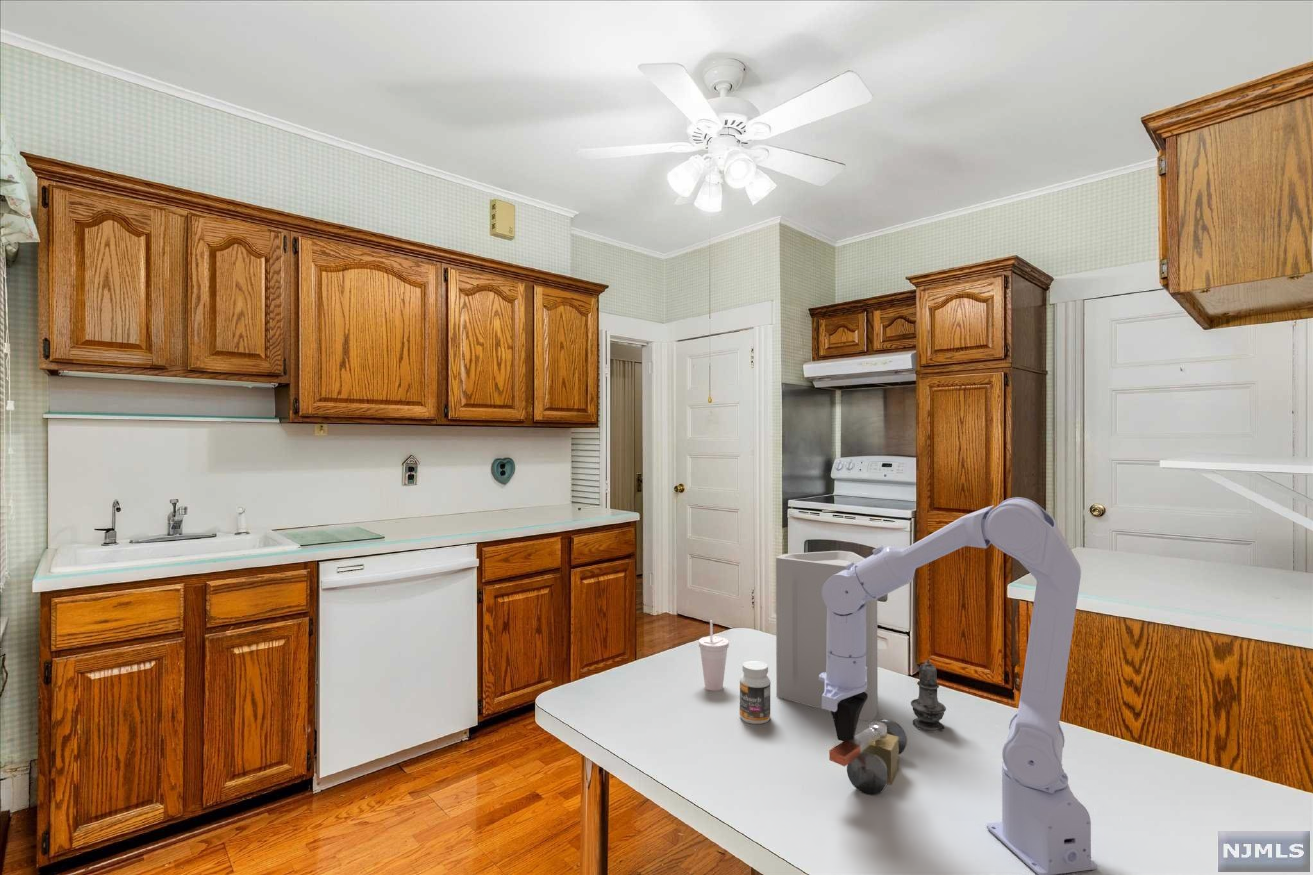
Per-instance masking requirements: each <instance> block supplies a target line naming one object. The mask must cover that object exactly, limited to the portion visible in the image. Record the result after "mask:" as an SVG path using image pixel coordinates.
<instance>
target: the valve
mask: <svg viewBox="0 0 1313 875" xmlns="http://www.w3.org/2000/svg"><path fill="white" fill-rule="evenodd" d="M875 722H881V723H884V724H885V725H886V726H887V737H886V738H883V739H878V740H876V741H875V742H873V743H872V744H871V745H869V746H868V747H866V748H865V749H864V750H862V751H861V752H860V756H859V757H857V758H856V759H854V760H853V761H852V762H850V763H849V764H847V765H846V772H847V777H848V780H849V782H850V783H851V785H852V786H853V787H854V788H855V789H857V791H859V792H860V793H862V794H865V795H868V796H876V795H878V794H880V793H882V792H883V791H884V790H885V787H886V786H887V785H890V786H891V785H892V784H893V781H894V780H895V779H896V776H897V774H898V772H899V770H900V768H899V767H900V766H899V765H900V764H899V763H900V762H899V761H900V760H899V758H900V755H901V754H902V753H903V752H904V751H905V749H906V747H907V744H908V738H907V734H906V732H905V730H904V729H903V727H902V725H900V724H899V723H898V722H897V721H895V720H892V719H890V718H880V719H878V720H876V721H875ZM866 729H867V728H865V729H864V730H866Z"/></svg>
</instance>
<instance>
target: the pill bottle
mask: <svg viewBox="0 0 1313 875" xmlns="http://www.w3.org/2000/svg"><path fill="white" fill-rule="evenodd" d="M742 673H743V674H741V675H740V679H739V718H740V719H741V720H742V721H744V722H746V723H748V724H753V725H762V724H765V723H767V722H768V721H769V720H770V719H771V679H770V677H769V676H768V673H769V665H768V664H767V663H766V662H764V661H760V660H747V661H745V662H743V663H742Z"/></svg>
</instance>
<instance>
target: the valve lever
mask: <svg viewBox="0 0 1313 875" xmlns="http://www.w3.org/2000/svg"><path fill="white" fill-rule="evenodd" d="M865 729H866V730H865ZM865 729H864V730H863V731H862V732H860V733H858V734H856V735H855V736H854V738H853V739H851V740H849V741H847V740H844V741H841V742H840V743H838V744H837V745H835V746H833V747H832V748H831V749H829V752H828V753H829V756H828V758H829V761H831V762H834V763H835V764H837V765H840V766H842V767H847V765H848V764H849V763H850V762H852V761H853V760H854V759H856V758H857V757H859V756H860V752H861V751H862V750H864V749H865V748H866V747H868V746H869V745H871V744H872V743H873V742H875V741H876V740H878V739H883V738H886V737H887V726H886V725H885V724H884V723H881V722H876V721H870V723H869V726H868V728H865Z"/></svg>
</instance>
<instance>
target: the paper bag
mask: <svg viewBox="0 0 1313 875" xmlns="http://www.w3.org/2000/svg"><path fill="white" fill-rule="evenodd" d="M864 559H866V557H863V556H861V555H859V554H857V553H855V552H853V551H845V550H830V551H829V550H828V551H813V552H796V553H795V552H794V553H783V554H780V555H777V556H776V557H775V593H776V594H775V602H776V603H775V608H776V609H775V612H776V614H775V617H776V618H775V628H776V629H775V631H776V632H775V633H776V634H775V635H776V636H775V637H776V638H775V643H776V645H775V648H776V649H775V651H776V652H775V653H776V654H775V657H776V666H775V668H776V670H775V671H776V676H775V677H776V680H775V681H776V697H777V698H780V697H781V698H780V699H783V698H784V700H787V699H789V700H788V701H791V702H795V703H799V704H803V705H806V706H810V707H815V708H818V709H821V710H823V709H822V695H823V693H824V690H825V682H823V681H820V680H819V675H820V674H821V673H823V672H825V673H826V643H827V606H826V605H825V603H824V601H823V598H822V588H823V585H824V583H825V582H826V581H827V580H828V579H829V578H830V577H831V576H832V575H835V574H837V573H839V572H841V571H843V570H847V568H846V565H848V564H850V563H851V562H853V563H854V564H856V563H858V562H860V561H862V560H864ZM865 606H866V667H867V689H866V691H864V692H865V693H867V695H868V698H867V700H866V702H865V703H864V705H863V707H862V710H861V712H860V715H859V718H858V720H863V721H867V722H868V721H869V722H872V721H873V720H874V719H875V718H876V716H877V715H878V713H879V710H878V709H879V708H878V706H879V705H878V699H879V698H878V696H879V695H878V690H879V689H878V687H879V686H878V678H879V677H878V669H879V668H878V599H876V600H869V601H868V602H867V603H866V604H865ZM824 710H825V711H827V710H826V709H824Z"/></svg>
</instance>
